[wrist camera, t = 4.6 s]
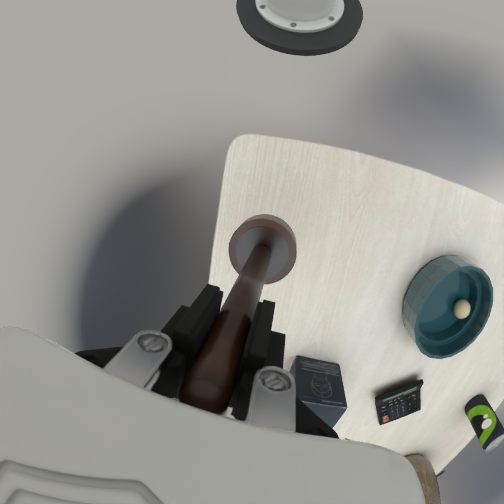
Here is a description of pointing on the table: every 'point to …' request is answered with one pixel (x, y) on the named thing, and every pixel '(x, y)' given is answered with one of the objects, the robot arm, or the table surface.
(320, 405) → the box
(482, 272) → the bowl
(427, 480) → the vase
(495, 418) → the beverage can
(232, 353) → the brown plunger
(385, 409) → the calculator
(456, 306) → the ball
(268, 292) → the table surface
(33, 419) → the robot arm
